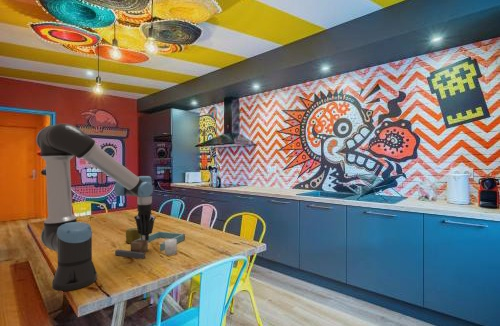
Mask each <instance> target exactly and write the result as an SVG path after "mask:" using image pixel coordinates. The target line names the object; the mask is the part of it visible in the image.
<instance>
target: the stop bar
mask: <svg viewBox="0 0 500 326" xmlns="http://www.w3.org/2000/svg"><path fill="white" fill-rule="evenodd" d="M117 255H118V257H119V256H120V257H125V258H133V259H139V260H145V258H146V252H145V253H141V252H134V251H131V250H124V249H116V250H115V251H114V256H117Z"/></svg>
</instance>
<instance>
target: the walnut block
mask: <svg viewBox="0 0 500 326" xmlns="http://www.w3.org/2000/svg"><path fill="white" fill-rule="evenodd" d="M148 246H149V242H148V240H136V241H133V242H131V243H130V251H134V252H141V253H145V254H146V253H148V250H149V249H148Z"/></svg>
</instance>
